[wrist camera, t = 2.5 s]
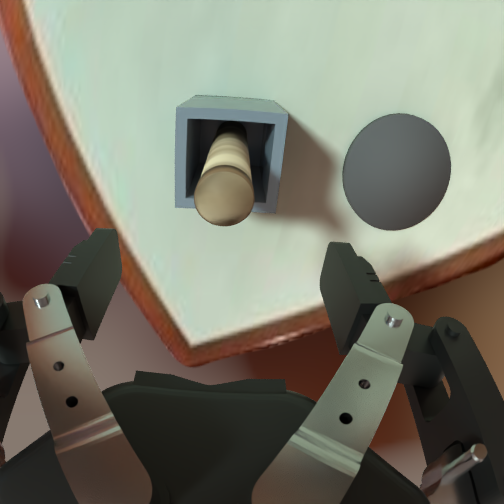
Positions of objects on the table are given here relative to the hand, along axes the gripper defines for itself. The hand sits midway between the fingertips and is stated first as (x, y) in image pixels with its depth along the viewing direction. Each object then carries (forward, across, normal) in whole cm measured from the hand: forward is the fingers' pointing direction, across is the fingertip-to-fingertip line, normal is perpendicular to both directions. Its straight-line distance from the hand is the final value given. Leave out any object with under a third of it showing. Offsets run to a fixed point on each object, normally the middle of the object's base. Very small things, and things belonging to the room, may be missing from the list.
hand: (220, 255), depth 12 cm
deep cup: (+22, 0, 0) cm, 22 cm away
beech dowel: (+21, 0, 0) cm, 21 cm away
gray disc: (+22, -19, +2) cm, 29 cm away
